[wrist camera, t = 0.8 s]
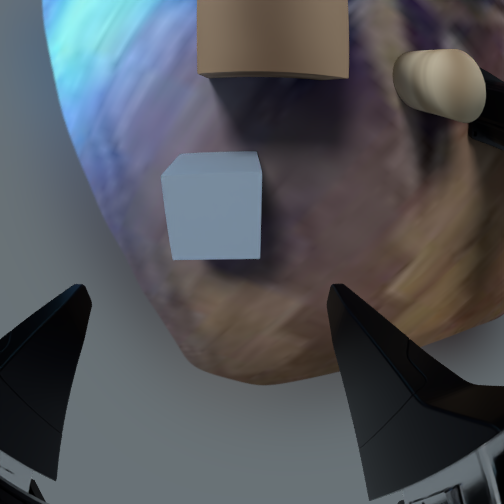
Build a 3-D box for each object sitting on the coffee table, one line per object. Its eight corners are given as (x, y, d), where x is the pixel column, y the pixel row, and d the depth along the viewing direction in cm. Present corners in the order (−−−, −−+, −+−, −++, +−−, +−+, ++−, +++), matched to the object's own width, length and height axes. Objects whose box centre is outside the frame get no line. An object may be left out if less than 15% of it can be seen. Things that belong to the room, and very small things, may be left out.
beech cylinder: (442, 61, 13) (486, 64, 9) (439, 116, 16) (482, 130, 11) (393, 44, 13) (435, 38, 9) (390, 103, 15) (432, 113, 11)
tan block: (319, -11, 11) (344, -38, 7) (320, 80, 15) (348, 78, 11) (208, -15, 11) (198, -46, 7) (209, 78, 15) (197, 73, 11)
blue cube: (256, 151, 17) (262, 172, 13) (255, 219, 20) (260, 258, 16) (180, 153, 17) (160, 176, 13) (186, 221, 20) (172, 259, 16)
